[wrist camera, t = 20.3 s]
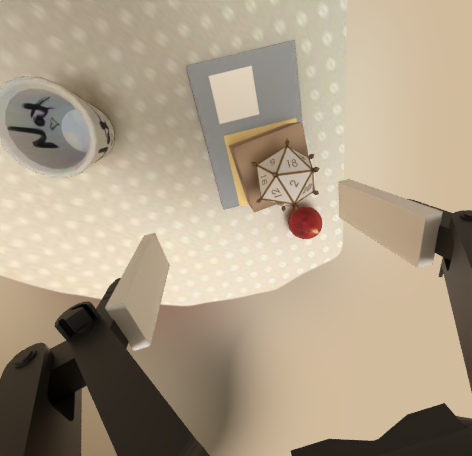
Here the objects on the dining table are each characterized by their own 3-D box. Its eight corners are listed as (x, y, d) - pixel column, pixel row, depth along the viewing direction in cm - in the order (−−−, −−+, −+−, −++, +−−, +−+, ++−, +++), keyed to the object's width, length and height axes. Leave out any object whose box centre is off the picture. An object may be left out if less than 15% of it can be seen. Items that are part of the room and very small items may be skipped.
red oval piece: (286, 233, 45) (301, 252, 38) (280, 207, 43) (296, 222, 35) (313, 224, 45) (334, 241, 38) (309, 198, 43) (330, 211, 35)
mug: (124, 172, 37) (98, 185, 27) (20, 155, 34) (-48, 163, 25) (125, 101, 33) (94, 89, 24) (8, 76, 30) (-79, 50, 21)
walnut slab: (228, 145, 36) (232, 147, 30) (286, 123, 35) (301, 121, 30) (247, 201, 40) (254, 212, 34) (299, 182, 39) (314, 189, 34)
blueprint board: (186, 68, 32) (185, 65, 31) (291, 43, 32) (295, 39, 31) (223, 207, 41) (223, 210, 40) (305, 186, 41) (308, 188, 40)
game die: (276, 158, 35) (336, 133, 27) (283, 211, 35) (344, 203, 27) (230, 155, 30) (288, 124, 22) (239, 218, 30) (299, 210, 22)
